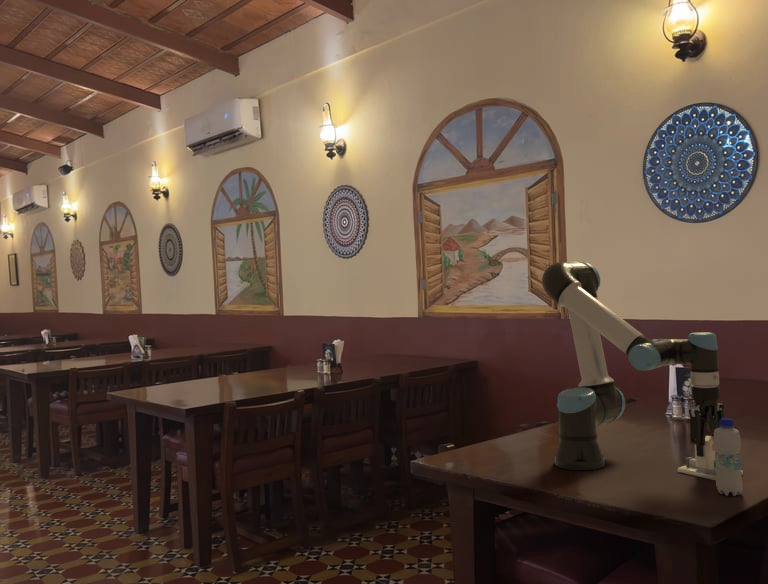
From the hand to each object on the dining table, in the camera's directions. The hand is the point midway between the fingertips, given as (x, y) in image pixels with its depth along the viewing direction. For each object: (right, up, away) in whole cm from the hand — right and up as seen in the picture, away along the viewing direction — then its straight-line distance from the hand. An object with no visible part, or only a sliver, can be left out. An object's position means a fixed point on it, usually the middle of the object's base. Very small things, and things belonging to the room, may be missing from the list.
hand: (709, 465), depth 201 cm
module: (0, 0, 0) cm, 0 cm away
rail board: (0, -3, 0) cm, 2 cm away
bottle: (-4, -3, -19) cm, 19 cm away
